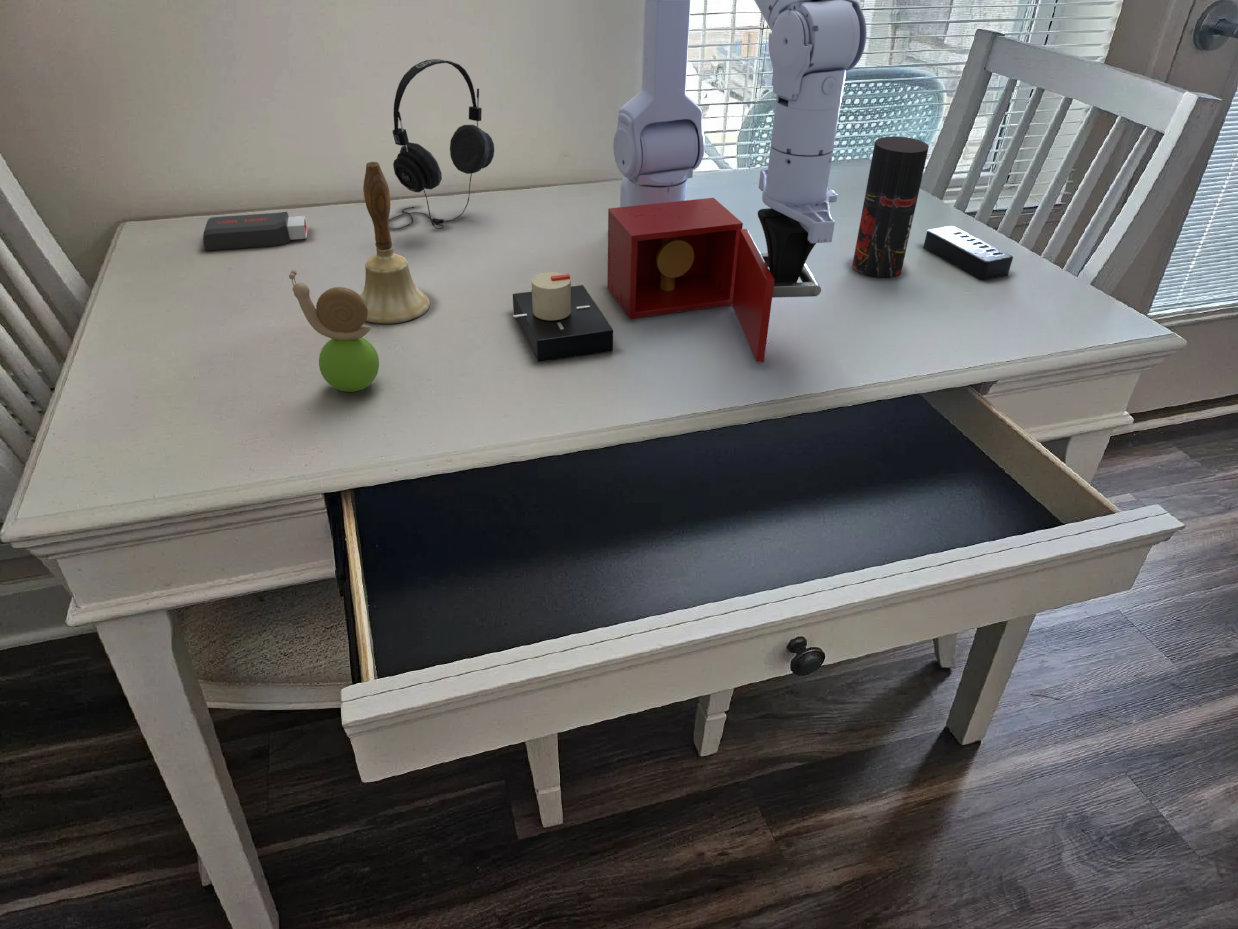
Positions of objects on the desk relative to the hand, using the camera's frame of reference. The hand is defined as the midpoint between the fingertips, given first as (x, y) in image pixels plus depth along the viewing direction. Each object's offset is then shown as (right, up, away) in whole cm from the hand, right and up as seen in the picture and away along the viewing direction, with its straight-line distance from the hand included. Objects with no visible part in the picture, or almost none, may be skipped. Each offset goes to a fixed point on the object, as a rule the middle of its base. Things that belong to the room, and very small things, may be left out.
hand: (782, 283), depth 90 cm
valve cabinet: (-11, +1, +13) cm, 16 cm away
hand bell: (-42, -1, +9) cm, 43 cm away
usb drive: (-63, +10, +24) cm, 68 cm away
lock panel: (-23, -4, +5) cm, 24 cm away
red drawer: (0, -4, +5) cm, 7 cm away
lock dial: (-24, -2, +3) cm, 24 cm away
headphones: (-41, +15, +31) cm, 53 cm away
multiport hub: (+27, +7, +22) cm, 36 cm away
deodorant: (+15, +6, +20) cm, 26 cm away
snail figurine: (-42, -11, -4) cm, 44 cm away
